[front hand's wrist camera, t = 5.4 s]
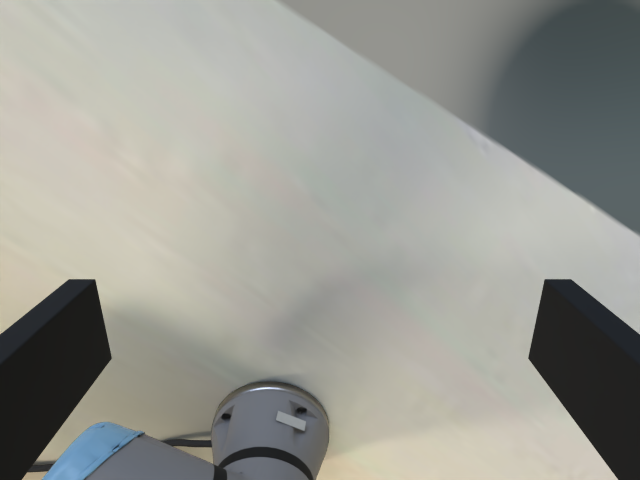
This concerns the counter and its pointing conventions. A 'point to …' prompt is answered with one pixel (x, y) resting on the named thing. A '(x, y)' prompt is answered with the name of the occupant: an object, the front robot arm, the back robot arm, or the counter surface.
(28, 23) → the counter surface
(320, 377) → the counter surface
